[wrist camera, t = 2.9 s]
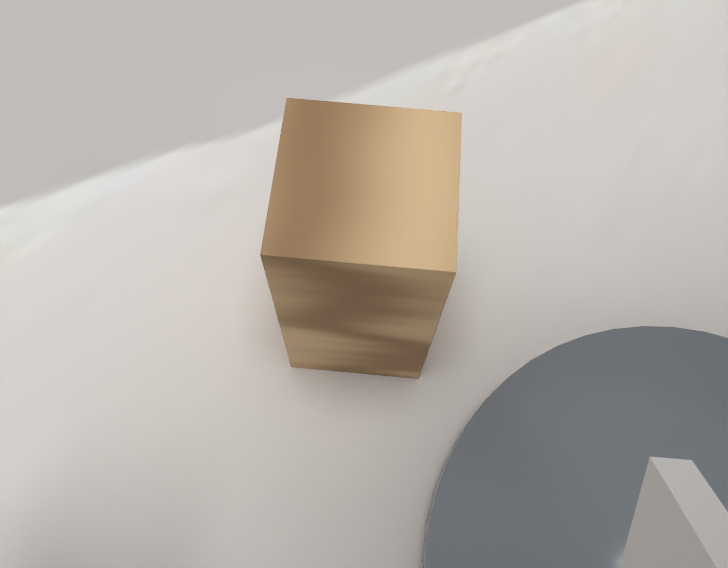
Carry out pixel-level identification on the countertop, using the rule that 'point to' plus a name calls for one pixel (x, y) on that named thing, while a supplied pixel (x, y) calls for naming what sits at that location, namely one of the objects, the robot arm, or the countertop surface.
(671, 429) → the dish
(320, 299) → the oak block
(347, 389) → the countertop surface
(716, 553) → the robot arm
